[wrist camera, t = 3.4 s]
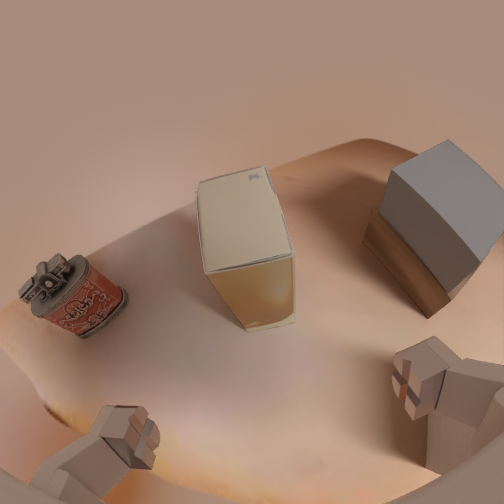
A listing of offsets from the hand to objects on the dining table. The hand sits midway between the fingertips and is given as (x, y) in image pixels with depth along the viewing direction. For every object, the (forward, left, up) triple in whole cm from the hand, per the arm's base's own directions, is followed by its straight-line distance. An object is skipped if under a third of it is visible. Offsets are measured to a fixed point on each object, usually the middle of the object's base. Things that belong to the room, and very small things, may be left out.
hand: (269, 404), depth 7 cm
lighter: (+13, -16, -14) cm, 25 cm away
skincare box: (-3, -9, -14) cm, 17 cm away
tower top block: (-19, -3, -9) cm, 21 cm away
